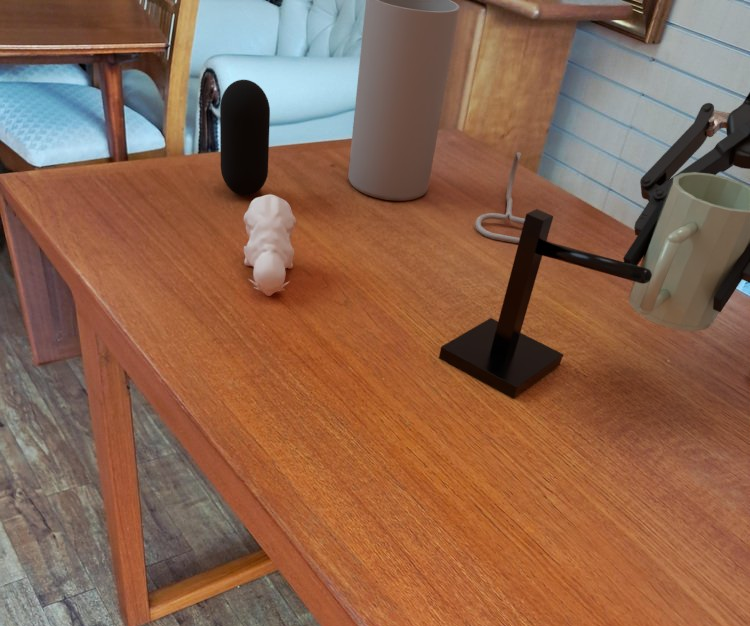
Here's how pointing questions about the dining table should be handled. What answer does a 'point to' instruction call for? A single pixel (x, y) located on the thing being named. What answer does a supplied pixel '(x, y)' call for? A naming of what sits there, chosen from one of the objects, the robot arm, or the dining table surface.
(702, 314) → the mug
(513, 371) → the mug stand
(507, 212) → the hook
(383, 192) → the cylinder vase
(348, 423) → the dining table surface
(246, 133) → the decorative object
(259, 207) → the white animal figurine
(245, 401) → the dining table surface
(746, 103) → the robot arm
